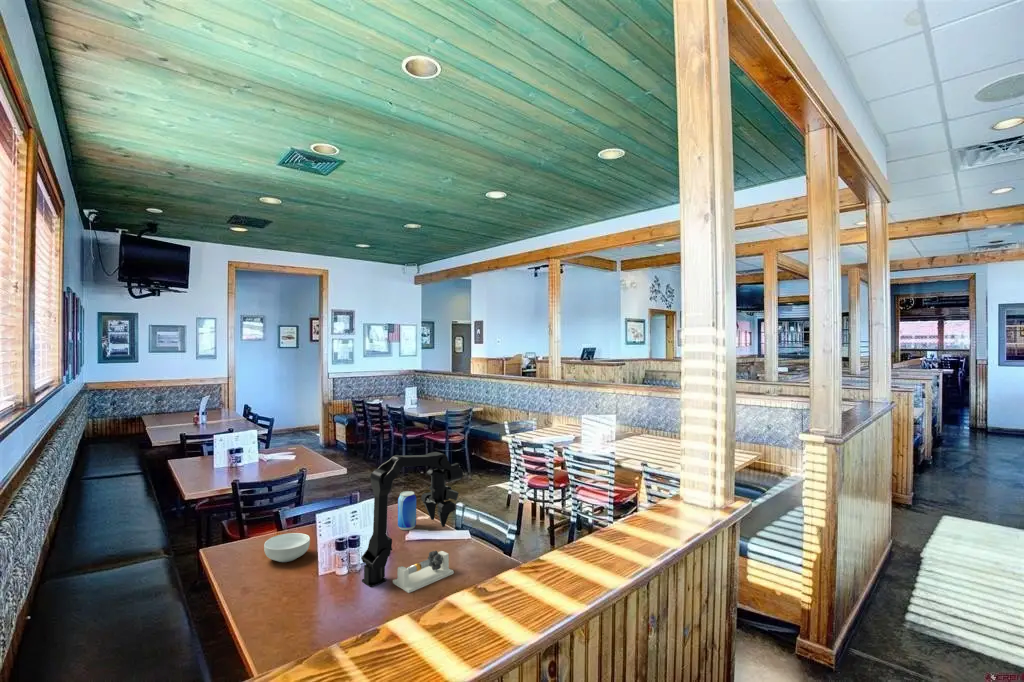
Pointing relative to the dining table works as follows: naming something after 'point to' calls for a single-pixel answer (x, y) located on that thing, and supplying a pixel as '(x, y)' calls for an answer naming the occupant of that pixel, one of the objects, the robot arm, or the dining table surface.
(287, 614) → the dining table surface
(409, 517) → the beer can
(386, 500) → the robot arm
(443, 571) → the base board
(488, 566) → the dining table surface
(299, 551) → the cereal bowl
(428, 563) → the pipe
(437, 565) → the black lobed collar
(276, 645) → the dining table surface
